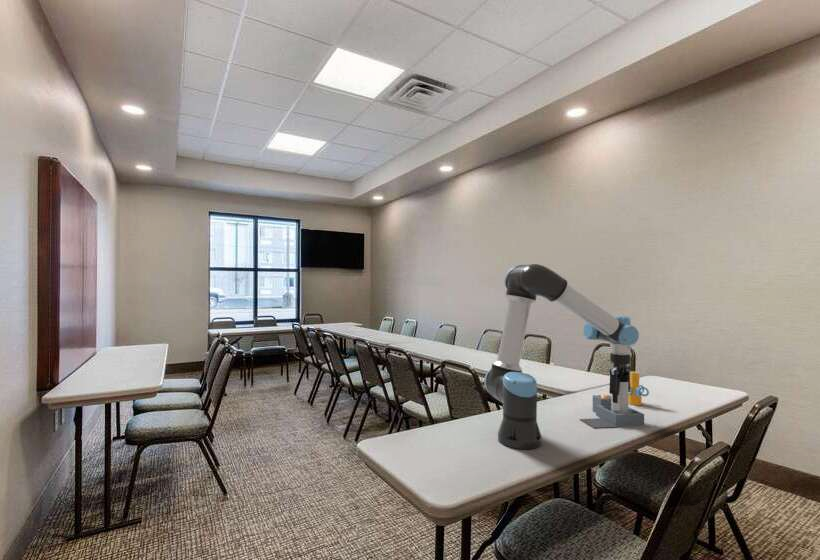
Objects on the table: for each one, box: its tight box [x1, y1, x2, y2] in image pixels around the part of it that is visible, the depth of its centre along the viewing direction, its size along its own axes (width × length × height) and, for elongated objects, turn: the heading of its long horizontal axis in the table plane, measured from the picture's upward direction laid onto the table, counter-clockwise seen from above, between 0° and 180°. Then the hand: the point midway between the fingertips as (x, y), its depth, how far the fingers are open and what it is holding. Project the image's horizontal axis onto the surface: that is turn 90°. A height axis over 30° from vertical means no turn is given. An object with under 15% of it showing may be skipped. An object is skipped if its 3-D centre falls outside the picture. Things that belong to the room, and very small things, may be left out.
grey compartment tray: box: [592, 394, 645, 427], centre depth 169 cm, size 12×19×7 cm, turn 8°
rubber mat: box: [579, 417, 618, 429], centre depth 162 cm, size 10×10×1 cm
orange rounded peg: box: [600, 394, 609, 399], centre depth 176 cm, size 3×3×7 cm
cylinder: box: [628, 370, 650, 406], centre depth 190 cm, size 12×10×15 cm
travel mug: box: [610, 372, 629, 414], centre depth 166 cm, size 6×7×20 cm
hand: (619, 408), depth 166 cm, fingers closed on travel mug, 6 cm apart
